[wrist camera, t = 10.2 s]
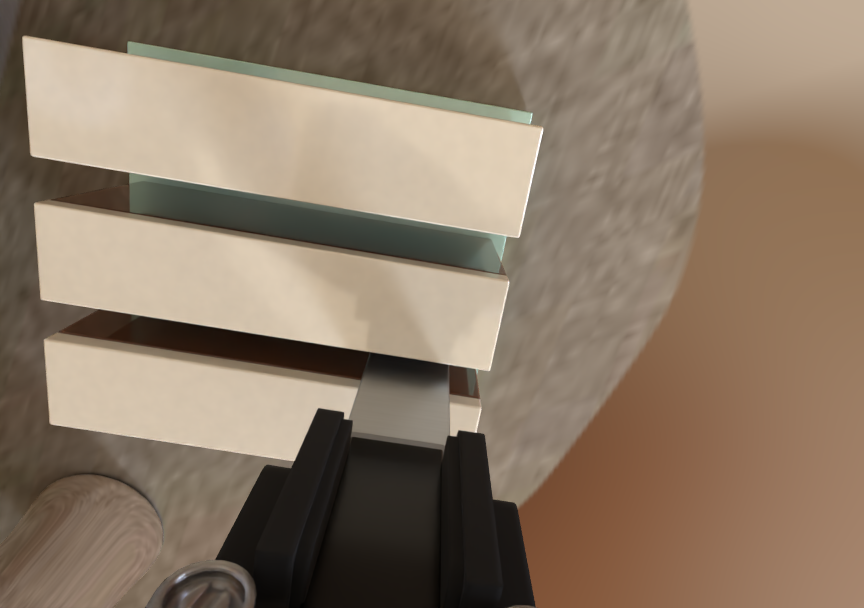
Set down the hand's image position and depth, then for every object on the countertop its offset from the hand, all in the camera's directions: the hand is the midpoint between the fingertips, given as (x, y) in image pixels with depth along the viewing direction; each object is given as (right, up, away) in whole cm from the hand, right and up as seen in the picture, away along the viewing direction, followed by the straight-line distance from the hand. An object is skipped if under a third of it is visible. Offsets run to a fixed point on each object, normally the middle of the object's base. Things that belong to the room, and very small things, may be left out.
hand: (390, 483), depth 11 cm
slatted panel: (-3, +6, +10) cm, 12 cm away
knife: (0, +3, +8) cm, 8 cm away
